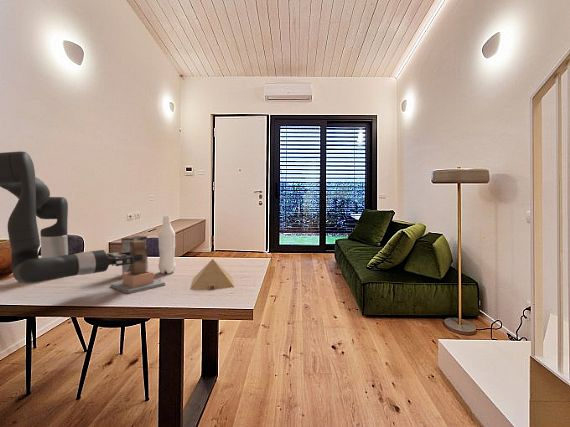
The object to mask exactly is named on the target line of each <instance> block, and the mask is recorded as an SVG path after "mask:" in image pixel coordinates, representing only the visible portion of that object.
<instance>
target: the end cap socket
mask: <svg viewBox="0 0 570 427" xmlns="http://www.w3.org/2000/svg"><path fill="white" fill-rule="evenodd" d="M154 274H155V273H154V272H153V271H149V270H148V271H147V270H146V273H145V274H139V275H131V274H130V272H125V273H122V277H121V278H122V281H118V282H113V283H110V287H111V288H113V289H117V290H119V291H122V292H124V293H126V294H133V293H137V292H142V291H145V290H150V289H156V288H158V287H163V286H166V282H164V281H161V280H158V279H155V278H154V277H155V275H154Z"/></svg>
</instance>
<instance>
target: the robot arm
mask: <svg viewBox="0 0 570 427" xmlns="http://www.w3.org/2000/svg"><path fill="white" fill-rule="evenodd" d="M0 188H2V189H4V190H5V191H8V192H9V193H11V194H12V195H13V196H15V197H16V198H17V199H18V201H17V203H16V204H15V206H14V208H13V209H12V212H11V213H10V216H9V218H8V221H7V235H8V240H9V245H10V250H11V254H10V256H11V257H10V259H11V261H10V262H11V273H12V276H13V277H14V279H15V280H16V281H17V282H19V283H21V284H34V283H40V282H45V281H49V280H53V279H59V278H69V277H75V276H85V275H92V274H96V273H103V272H107V270H108V269H109V266H113V267H114V266H115V267H119V266H121V267H122V265H128V264H134V262H136V261H142V260H143V255H133V256H132V255H131V256H130V252H124V253H122V252H120V251H119V252H116V251H114V252H108V253H107V251H105V250H104V249H100V250H90V251H83V252H78V253H73V254H71V253H70V254H69V243H68V242H69V241H68V237H69V236H68V215H69V214H68V212H69V206H68V200H67V198H66V197H64V196H63V197H62V196H61V197H60V196H51V192H50V189H49V187H48V186H47V185H46V184H45V182H44V181H42V180H41V179H40V178H38V177H37V176H36V171H35V164H34V162H33V159H32V158H31V155H29V153H27V151H8V152H7V151H5V152H0ZM37 218H38V219H41V220H56V223H54V224H52V225H50V226H48V227H44V228H41V229H40V233H39V228H38V224H37V223H38V221H37ZM39 249H40V257H39ZM127 259H129V261H127Z"/></svg>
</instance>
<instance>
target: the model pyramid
mask: <svg viewBox="0 0 570 427" xmlns="http://www.w3.org/2000/svg"><path fill="white" fill-rule="evenodd" d="M231 287H232V288H235V284H234V279H233V276H232V275H231V274H230V273H229V272H227V270H225V269H224V268H223V267H222V266H221V265H220V264H219V263H218V262H217V261H216V260H214V258H212V259H210V261H208V263H207V264H206V265H204V267H203V268H202V269H201V270H200V271H199V272H198V273H197V274H196V275H195V276H194V277H193V278H192V281H191V284H190V288H189V290H205V289H206V290H207V289H208V290H212V289H214V290H216V289H224V288H225V289H227V288H231ZM209 288H210V289H209ZM211 288H212V289H211Z"/></svg>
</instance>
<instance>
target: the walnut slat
mask: <svg viewBox="0 0 570 427" xmlns="http://www.w3.org/2000/svg"><path fill="white" fill-rule="evenodd" d="M131 255H132V256H133V255H143V260H142V261H136V262H134V264H130V274H131V275H139V274H145V273H146V255H145V241H141V240H138V241H130V256H131Z"/></svg>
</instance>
